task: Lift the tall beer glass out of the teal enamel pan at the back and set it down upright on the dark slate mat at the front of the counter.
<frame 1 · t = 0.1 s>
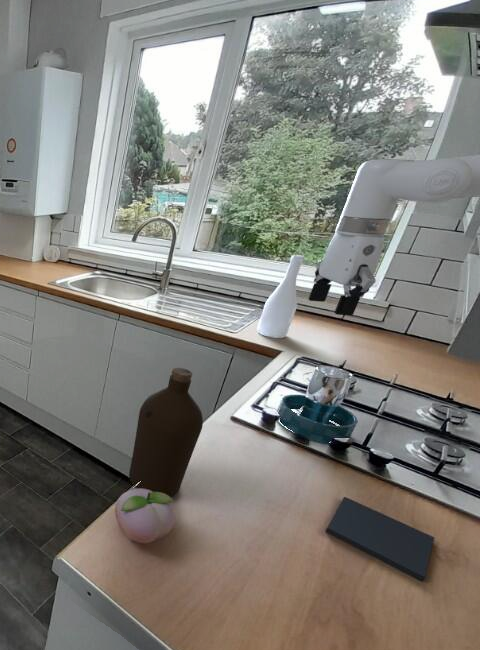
hand: (329, 307, 90), 30 cm above the counter, tool pointing down, fingers open, 9 cm apart
decorative fruit: (136, 537, 70), on the counter
wine bottle: (270, 334, 157), on the counter
beer glass: (310, 426, 100), resting on pan
olive oil: (153, 482, 82), on the counter
pan: (310, 427, 100), on the counter
mat: (377, 536, 70), on the counter
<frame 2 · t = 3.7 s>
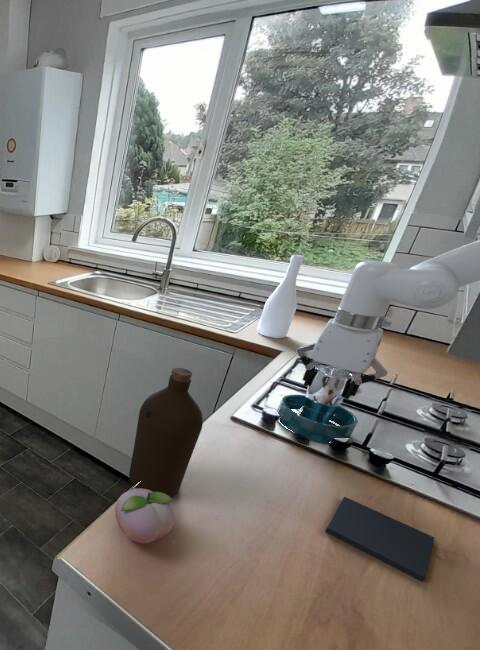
hand: (326, 389, 96), 10 cm above the counter, tool pointing down, fingers closed on beer glass, 7 cm apart
beer glass: (310, 426, 100), resting on pan, touching gripper
everything else where it was.
when the fingers open (11 cm above the counter, at t = 12.6 s): beer glass stays where it is, resting on mat.
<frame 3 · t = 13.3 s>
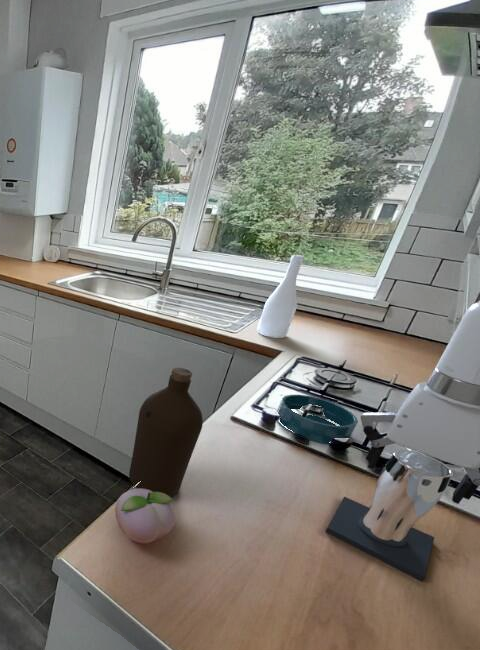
hand: (411, 481, 65), 12 cm above the counter, tool pointing down, fingers open, 9 cm apart
beer glass: (380, 533, 70), point 1 cm above the counter, touching mat
everything else where it was.
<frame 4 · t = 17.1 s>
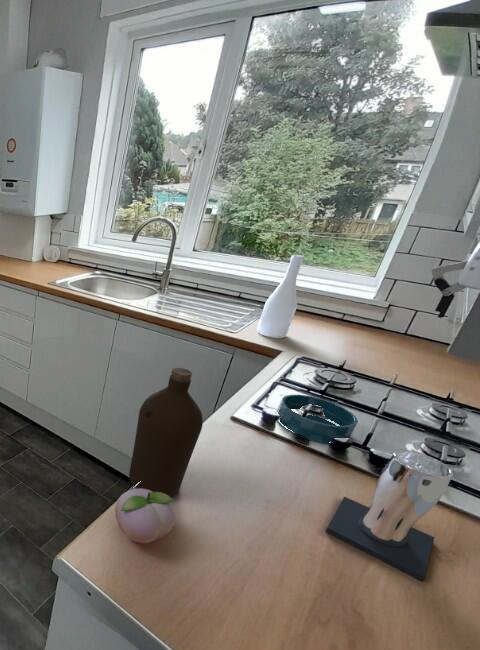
nothing on the counter moved.
at the end: beer glass inside the target area on the mat (0.1 cm from its centre), point 0.8 cm above the mat's base; beer glass tilted 0°; the gripper is holding nothing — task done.
